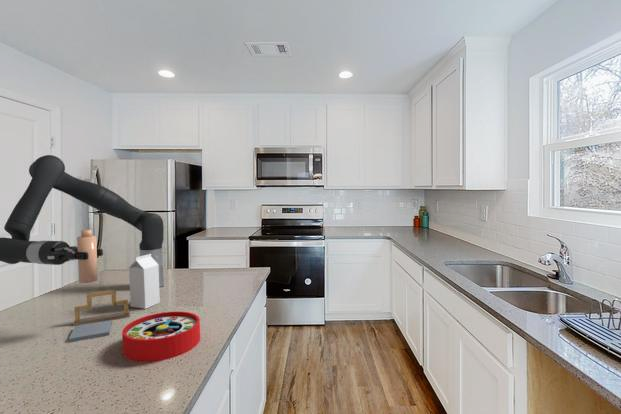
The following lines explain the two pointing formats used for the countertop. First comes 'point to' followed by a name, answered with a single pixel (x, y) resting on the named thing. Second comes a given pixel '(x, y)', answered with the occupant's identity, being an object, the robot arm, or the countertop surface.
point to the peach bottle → (89, 266)
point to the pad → (90, 331)
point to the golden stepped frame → (103, 317)
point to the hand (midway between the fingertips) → (94, 254)
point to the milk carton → (144, 282)
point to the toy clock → (161, 336)
